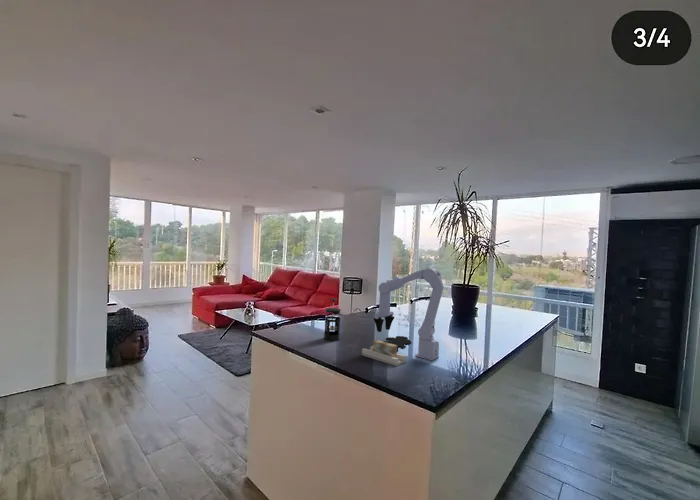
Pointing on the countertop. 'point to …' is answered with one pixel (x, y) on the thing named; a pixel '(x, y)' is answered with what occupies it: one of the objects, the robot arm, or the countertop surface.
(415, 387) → the countertop surface
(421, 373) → the countertop surface
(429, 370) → the countertop surface
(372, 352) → the ledge
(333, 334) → the french press
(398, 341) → the figurine
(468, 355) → the countertop surface
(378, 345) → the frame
